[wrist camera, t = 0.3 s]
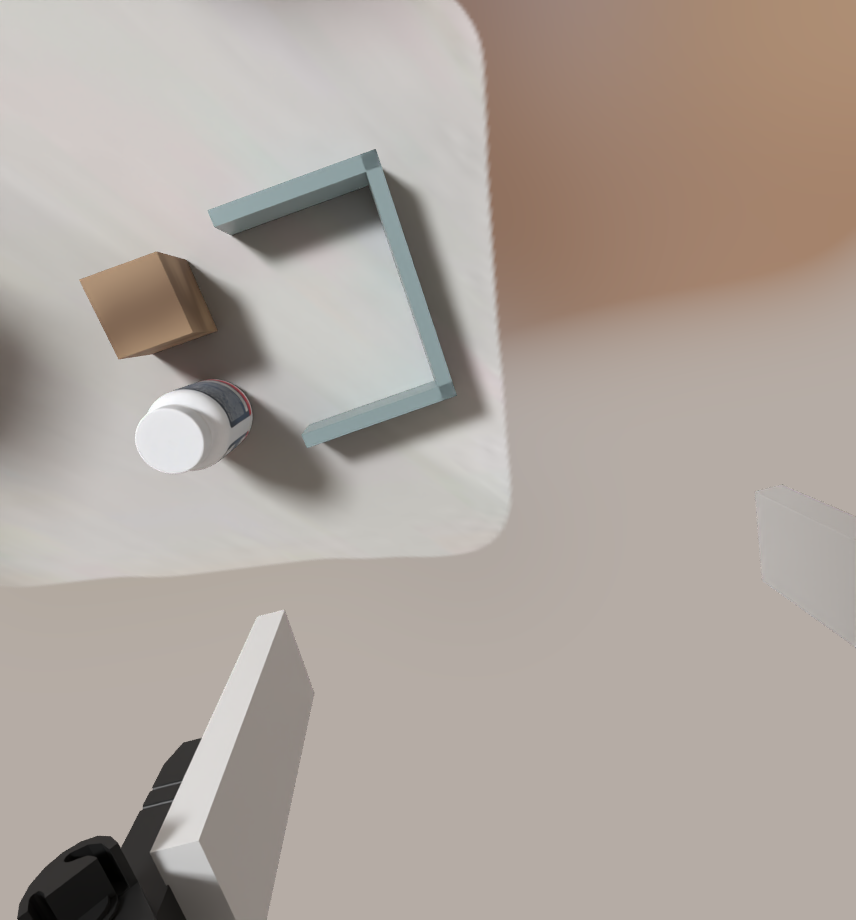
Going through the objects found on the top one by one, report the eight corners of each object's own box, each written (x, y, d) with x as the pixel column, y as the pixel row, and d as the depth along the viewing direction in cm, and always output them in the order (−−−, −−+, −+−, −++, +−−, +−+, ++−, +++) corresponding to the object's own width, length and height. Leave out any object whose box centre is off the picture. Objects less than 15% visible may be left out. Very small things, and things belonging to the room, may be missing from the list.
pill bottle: (185, 371, 39) (126, 387, 30) (258, 386, 39) (220, 405, 31) (178, 441, 40) (119, 475, 31) (249, 454, 41) (210, 491, 32)
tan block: (120, 284, 37) (78, 279, 32) (187, 260, 37) (156, 251, 32) (153, 354, 38) (118, 359, 34) (218, 330, 38) (192, 332, 33)
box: (224, 220, 36) (207, 210, 33) (377, 164, 36) (375, 148, 33) (314, 437, 41) (307, 448, 37) (451, 388, 40) (456, 395, 37)
